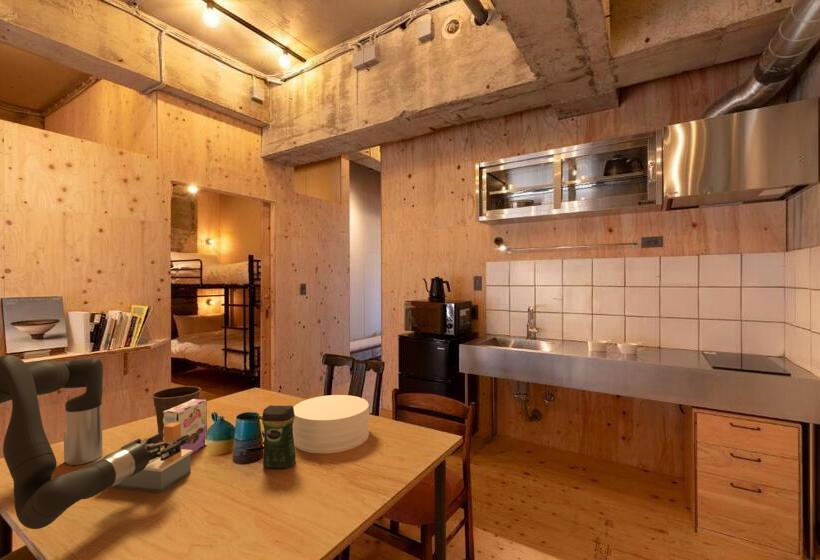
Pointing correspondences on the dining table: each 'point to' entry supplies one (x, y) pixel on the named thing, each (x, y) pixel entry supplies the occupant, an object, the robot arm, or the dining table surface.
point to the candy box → (189, 422)
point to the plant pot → (172, 400)
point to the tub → (158, 477)
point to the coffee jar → (278, 436)
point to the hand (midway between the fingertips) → (172, 438)
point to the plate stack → (330, 423)
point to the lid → (170, 434)
